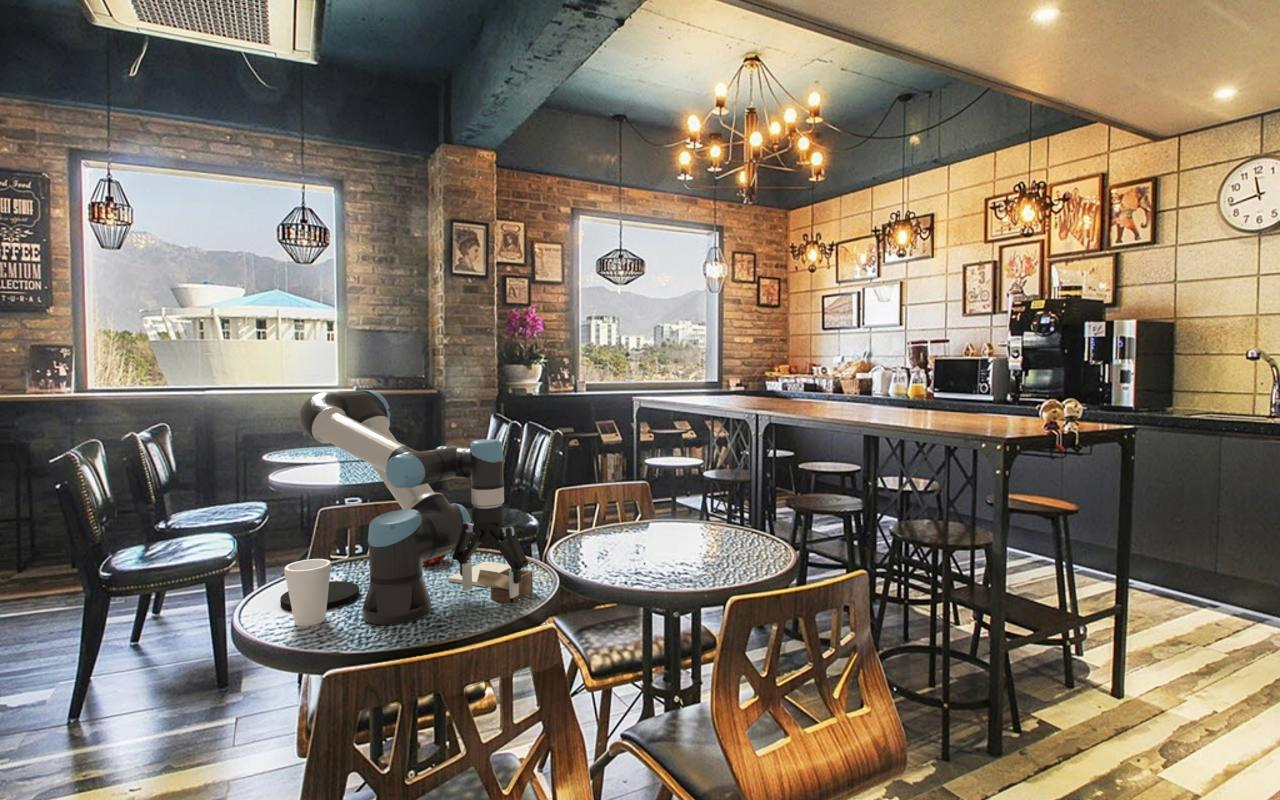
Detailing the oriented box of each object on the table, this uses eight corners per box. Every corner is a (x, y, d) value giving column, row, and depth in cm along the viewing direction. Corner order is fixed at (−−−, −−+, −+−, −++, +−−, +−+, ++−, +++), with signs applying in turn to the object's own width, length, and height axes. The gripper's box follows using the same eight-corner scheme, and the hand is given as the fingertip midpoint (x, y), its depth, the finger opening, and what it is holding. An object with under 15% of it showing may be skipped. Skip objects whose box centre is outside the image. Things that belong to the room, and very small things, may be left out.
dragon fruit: (439, 561, 206) (431, 579, 195) (415, 546, 205) (405, 564, 193) (455, 539, 206) (448, 556, 194) (431, 524, 204) (422, 540, 192)
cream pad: (484, 587, 178) (484, 583, 177) (448, 581, 182) (448, 577, 182) (519, 569, 192) (519, 566, 192) (484, 564, 197) (484, 561, 197)
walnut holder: (513, 603, 165) (512, 581, 165) (488, 599, 168) (488, 577, 168) (532, 592, 173) (532, 571, 172) (509, 589, 176) (508, 568, 175)
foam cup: (321, 610, 162) (319, 556, 161) (340, 619, 156) (338, 563, 155) (279, 622, 154) (277, 566, 154) (298, 632, 149) (295, 573, 148)
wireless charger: (370, 588, 178) (370, 580, 178) (339, 613, 161) (339, 605, 160) (303, 588, 179) (303, 581, 179) (265, 613, 161) (265, 605, 161)
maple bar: (494, 584, 160) (497, 572, 161) (476, 582, 162) (480, 569, 163) (524, 594, 171) (527, 582, 172) (507, 592, 173) (510, 580, 174)
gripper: (541, 505, 160) (543, 594, 161) (456, 498, 170) (458, 581, 171) (523, 512, 153) (525, 604, 154) (435, 504, 163) (438, 591, 164)
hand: (490, 592), depth 162 cm, fingers open, 13 cm apart
